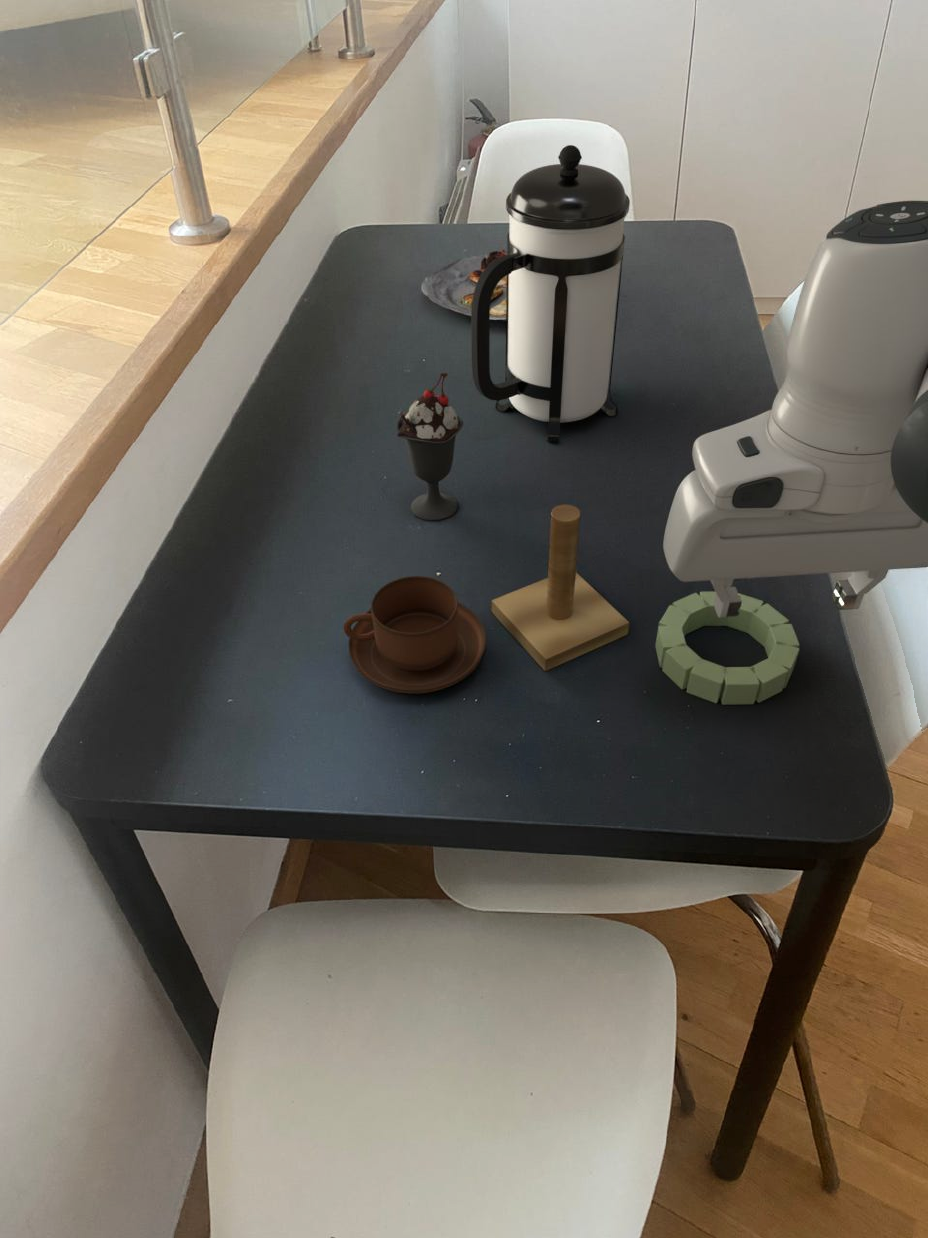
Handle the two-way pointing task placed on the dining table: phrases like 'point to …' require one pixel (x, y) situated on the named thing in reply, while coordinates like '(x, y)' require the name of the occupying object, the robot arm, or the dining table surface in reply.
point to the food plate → (465, 285)
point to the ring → (717, 679)
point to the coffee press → (556, 293)
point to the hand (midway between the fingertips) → (785, 608)
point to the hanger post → (560, 603)
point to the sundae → (431, 449)
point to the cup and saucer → (415, 637)
